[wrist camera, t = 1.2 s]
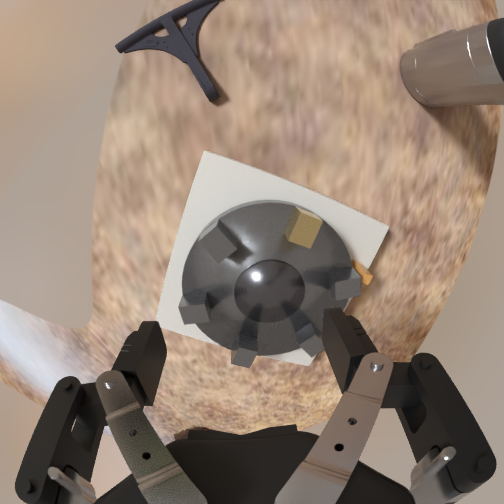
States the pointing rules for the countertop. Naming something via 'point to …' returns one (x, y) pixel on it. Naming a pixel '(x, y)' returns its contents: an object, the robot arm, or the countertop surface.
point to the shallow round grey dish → (266, 279)
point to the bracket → (176, 39)
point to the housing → (246, 190)
